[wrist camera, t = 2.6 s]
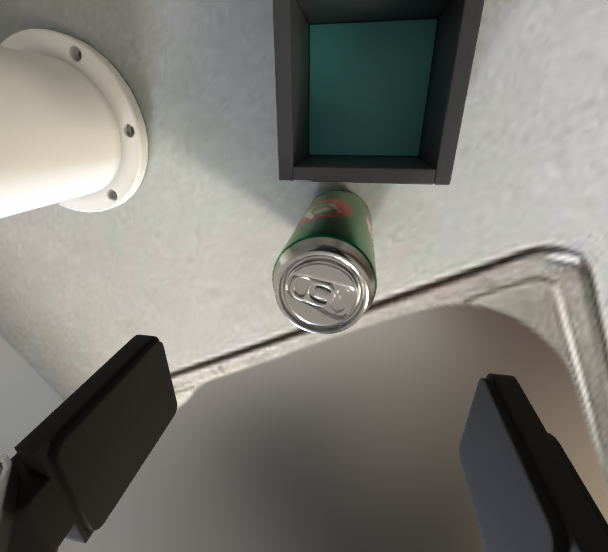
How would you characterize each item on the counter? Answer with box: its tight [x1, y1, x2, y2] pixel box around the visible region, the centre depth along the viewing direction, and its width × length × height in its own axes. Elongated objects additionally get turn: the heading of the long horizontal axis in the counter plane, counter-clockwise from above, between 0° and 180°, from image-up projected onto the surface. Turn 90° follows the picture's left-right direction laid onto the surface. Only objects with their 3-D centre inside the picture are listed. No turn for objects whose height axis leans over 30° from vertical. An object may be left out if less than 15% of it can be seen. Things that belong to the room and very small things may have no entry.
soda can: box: [272, 190, 377, 334], centre depth 20 cm, size 5×5×12 cm
